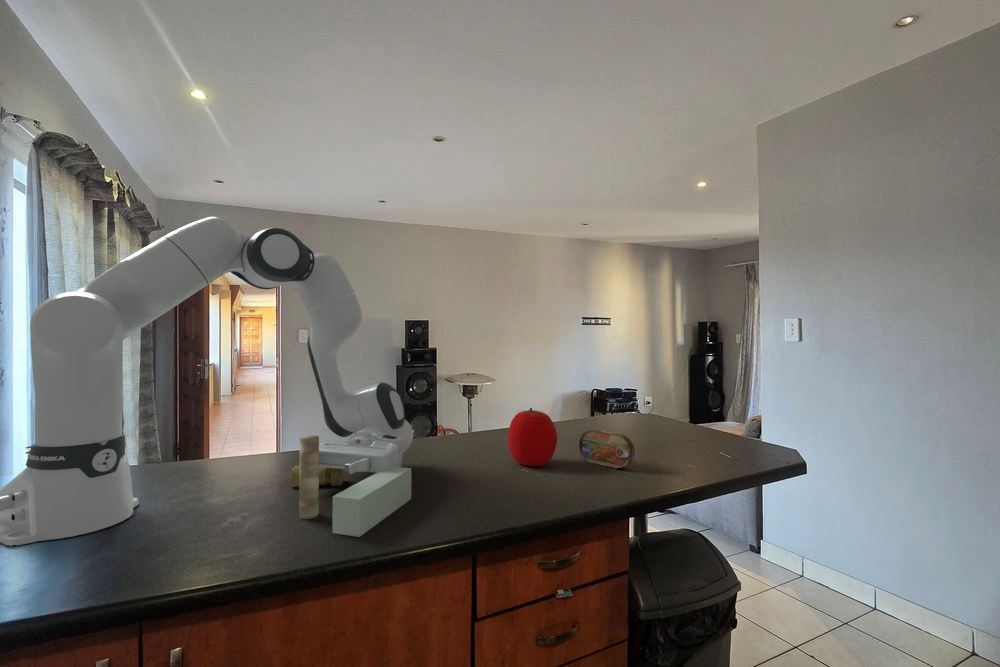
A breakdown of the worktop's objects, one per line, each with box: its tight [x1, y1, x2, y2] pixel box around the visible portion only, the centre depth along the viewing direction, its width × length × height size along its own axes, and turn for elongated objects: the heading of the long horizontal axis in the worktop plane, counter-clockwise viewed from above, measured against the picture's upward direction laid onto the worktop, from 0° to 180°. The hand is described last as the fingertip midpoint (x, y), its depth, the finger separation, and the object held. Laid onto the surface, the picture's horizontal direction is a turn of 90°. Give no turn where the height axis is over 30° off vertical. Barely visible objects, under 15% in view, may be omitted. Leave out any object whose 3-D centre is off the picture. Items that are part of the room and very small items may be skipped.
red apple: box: [507, 407, 558, 467], centre depth 117 cm, size 13×11×14 cm
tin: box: [578, 429, 636, 468], centre depth 117 cm, size 15×3×8 cm, turn 43°
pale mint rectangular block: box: [331, 466, 412, 538], centre depth 84 cm, size 5×18×6 cm, turn 164°
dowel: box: [298, 434, 320, 520], centre depth 83 cm, size 3×3×14 cm
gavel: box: [289, 465, 345, 488], centre depth 108 cm, size 21×5×10 cm
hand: (326, 467), depth 88 cm, fingers open, 8 cm apart
